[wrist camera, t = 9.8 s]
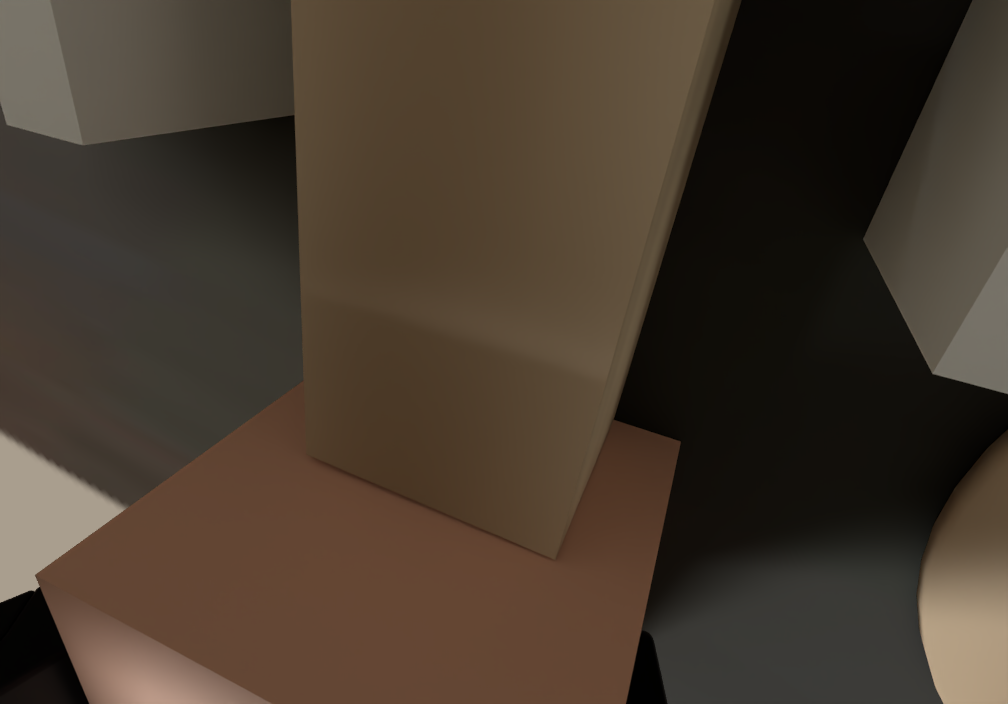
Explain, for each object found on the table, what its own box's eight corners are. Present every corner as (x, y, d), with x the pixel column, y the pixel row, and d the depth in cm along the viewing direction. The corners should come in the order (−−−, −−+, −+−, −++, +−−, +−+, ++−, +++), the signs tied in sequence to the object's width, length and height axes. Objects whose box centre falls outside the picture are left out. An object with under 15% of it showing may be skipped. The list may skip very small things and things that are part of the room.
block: (681, 441, 8) (588, 876, 4) (603, 660, 10) (497, 1065, 6) (362, 337, 9) (34, 574, 5) (362, 554, 12) (143, 831, 8)
